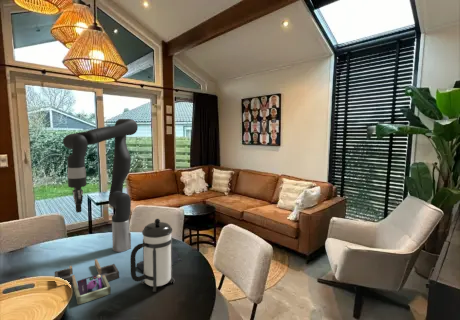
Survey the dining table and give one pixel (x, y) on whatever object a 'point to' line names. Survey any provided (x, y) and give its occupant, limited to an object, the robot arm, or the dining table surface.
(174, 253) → the dark slate chunk
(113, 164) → the robot arm
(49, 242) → the dining table surface
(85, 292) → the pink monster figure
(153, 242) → the coffee press
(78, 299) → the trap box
